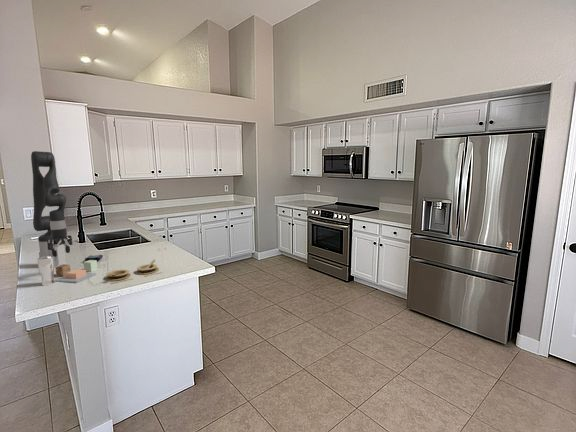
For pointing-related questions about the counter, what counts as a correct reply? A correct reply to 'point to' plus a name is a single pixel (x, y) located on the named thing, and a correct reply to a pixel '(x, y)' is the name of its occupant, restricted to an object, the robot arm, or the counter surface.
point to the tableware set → (125, 274)
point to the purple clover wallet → (93, 257)
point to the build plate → (75, 276)
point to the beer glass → (46, 270)
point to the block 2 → (90, 265)
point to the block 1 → (62, 270)
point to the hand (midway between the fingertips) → (61, 254)
